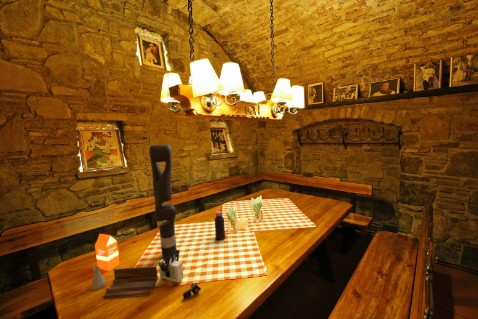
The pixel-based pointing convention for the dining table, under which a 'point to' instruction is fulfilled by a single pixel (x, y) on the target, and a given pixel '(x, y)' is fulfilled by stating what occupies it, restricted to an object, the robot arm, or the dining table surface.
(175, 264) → the white rectangular block
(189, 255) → the dining table surface
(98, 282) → the flask
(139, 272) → the picture ledge
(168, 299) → the dining table surface
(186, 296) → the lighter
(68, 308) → the dining table surface
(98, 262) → the orange juice
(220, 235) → the bottle
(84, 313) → the dining table surface
